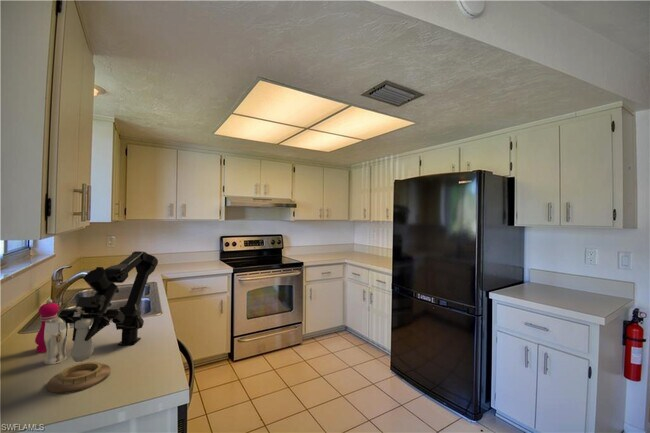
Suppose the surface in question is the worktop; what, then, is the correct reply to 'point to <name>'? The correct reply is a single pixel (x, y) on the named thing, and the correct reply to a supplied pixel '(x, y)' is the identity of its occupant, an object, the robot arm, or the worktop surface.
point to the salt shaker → (82, 341)
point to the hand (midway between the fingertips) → (79, 340)
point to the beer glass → (56, 340)
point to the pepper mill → (46, 313)
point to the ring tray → (77, 386)
